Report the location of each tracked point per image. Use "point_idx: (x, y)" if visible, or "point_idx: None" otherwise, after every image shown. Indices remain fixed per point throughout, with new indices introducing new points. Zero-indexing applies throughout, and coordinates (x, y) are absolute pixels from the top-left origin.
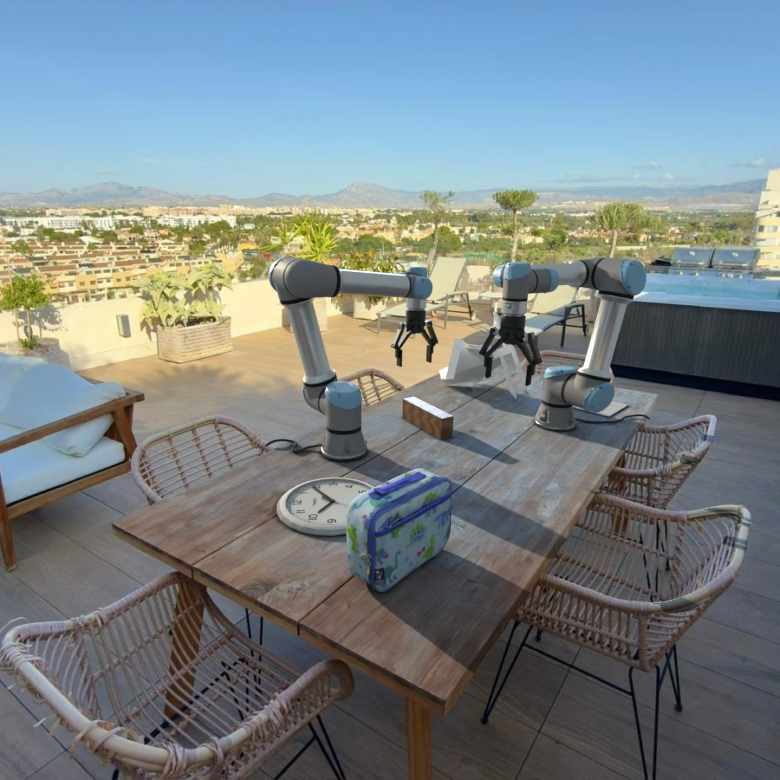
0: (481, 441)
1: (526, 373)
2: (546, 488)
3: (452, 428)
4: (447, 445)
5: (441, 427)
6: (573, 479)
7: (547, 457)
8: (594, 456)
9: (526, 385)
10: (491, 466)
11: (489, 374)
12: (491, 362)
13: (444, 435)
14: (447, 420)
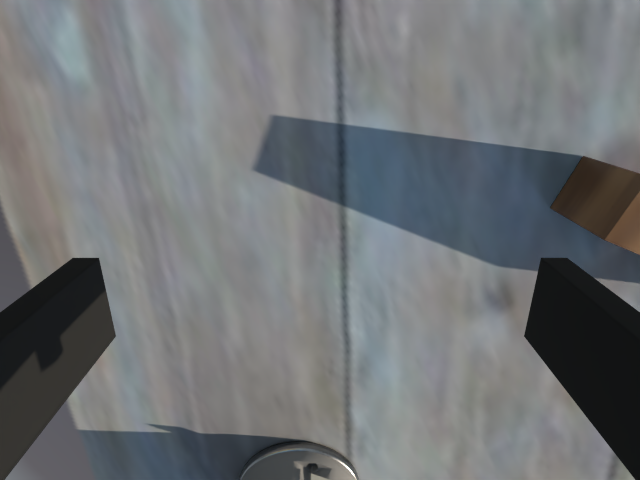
0: (439, 240)
1: (1, 337)
2: (73, 11)
3: (571, 217)
4: (539, 126)
5: (617, 167)
6: (51, 147)
7: (199, 255)
8: None
9: (81, 260)
10: (315, 56)
11: (548, 314)
12: (637, 452)
13: (581, 176)
14: (616, 204)
